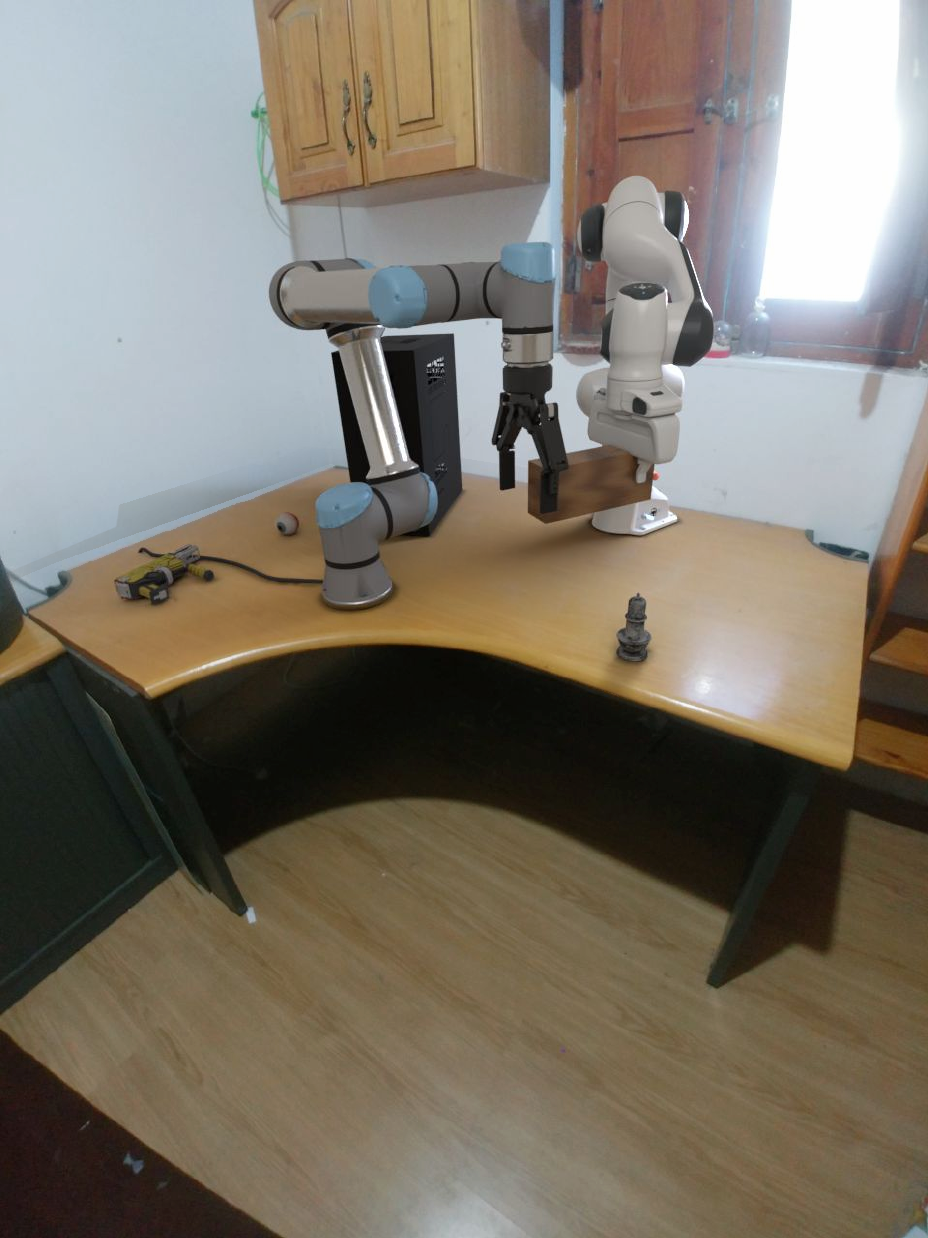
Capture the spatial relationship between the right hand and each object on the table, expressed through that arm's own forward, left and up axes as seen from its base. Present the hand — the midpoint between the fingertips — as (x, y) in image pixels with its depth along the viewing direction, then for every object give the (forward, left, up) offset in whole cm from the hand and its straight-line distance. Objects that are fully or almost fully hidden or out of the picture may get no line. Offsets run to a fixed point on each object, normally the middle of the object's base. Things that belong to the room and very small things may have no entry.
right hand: (625, 476), depth 108 cm
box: (+7, 0, -4) cm, 8 cm away
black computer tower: (+14, -76, -27) cm, 82 cm away
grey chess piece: (+7, +15, -27) cm, 32 cm away
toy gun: (+79, -60, -27) cm, 103 cm away
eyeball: (+51, -77, -27) cm, 96 cm away
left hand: (+20, 0, -1) cm, 20 cm away
